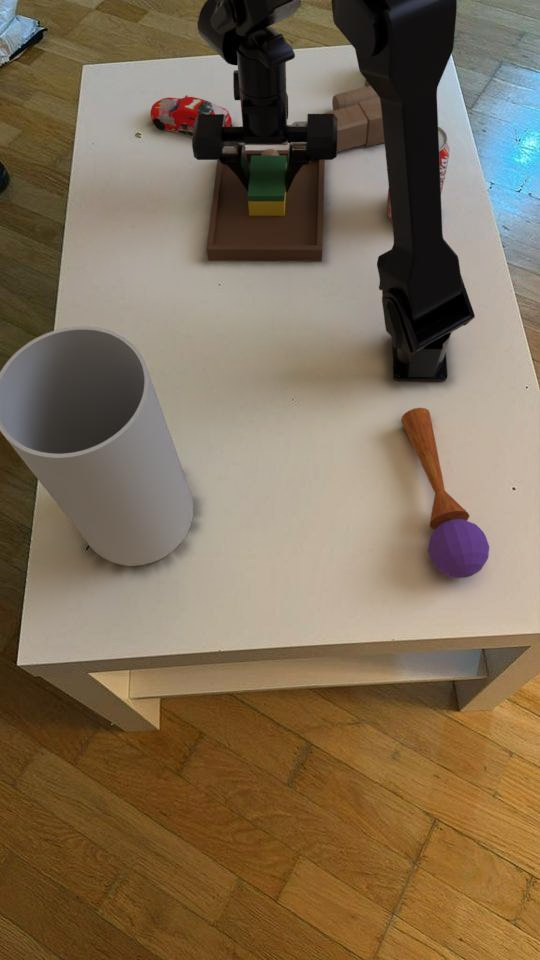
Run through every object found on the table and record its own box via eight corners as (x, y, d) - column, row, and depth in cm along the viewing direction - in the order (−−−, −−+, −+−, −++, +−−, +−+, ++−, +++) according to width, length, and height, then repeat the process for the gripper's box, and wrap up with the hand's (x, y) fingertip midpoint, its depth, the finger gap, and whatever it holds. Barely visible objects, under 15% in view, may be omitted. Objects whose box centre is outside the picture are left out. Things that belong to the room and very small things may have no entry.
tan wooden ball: (280, 143, 97) (281, 159, 100) (259, 144, 97) (260, 160, 100) (280, 160, 96) (280, 176, 99) (259, 161, 96) (260, 176, 99)
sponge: (284, 216, 95) (284, 195, 92) (249, 215, 95) (247, 195, 92) (286, 175, 99) (286, 155, 95) (252, 175, 99) (251, 155, 96)
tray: (322, 261, 92) (322, 249, 90) (208, 260, 93) (206, 249, 91) (324, 162, 101) (324, 149, 99) (220, 162, 102) (218, 150, 100)
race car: (145, 127, 106) (140, 103, 102) (162, 106, 108) (157, 82, 105) (220, 148, 103) (217, 123, 99) (236, 126, 105) (234, 101, 101)
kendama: (448, 399, 76) (506, 559, 66) (431, 430, 81) (482, 584, 71) (398, 401, 75) (449, 564, 65) (384, 433, 80) (429, 589, 70)
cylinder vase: (92, 581, 73) (-2, 475, 51) (76, 481, 78) (-15, 346, 56) (205, 550, 74) (162, 433, 51) (182, 454, 79) (133, 311, 57)
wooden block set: (435, 96, 97) (317, 127, 96) (428, 132, 103) (316, 162, 101) (389, 31, 105) (279, 58, 103) (385, 67, 110) (280, 94, 108)
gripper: (340, 42, 85) (334, 151, 99) (193, 43, 86) (208, 151, 100) (339, 99, 80) (334, 205, 94) (183, 100, 81) (200, 205, 95)
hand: (268, 189), depth 96 cm, fingers closed on sponge, 5 cm apart
